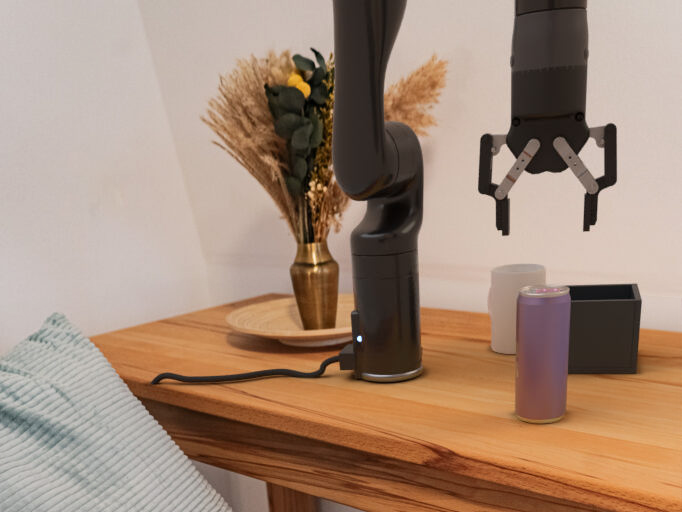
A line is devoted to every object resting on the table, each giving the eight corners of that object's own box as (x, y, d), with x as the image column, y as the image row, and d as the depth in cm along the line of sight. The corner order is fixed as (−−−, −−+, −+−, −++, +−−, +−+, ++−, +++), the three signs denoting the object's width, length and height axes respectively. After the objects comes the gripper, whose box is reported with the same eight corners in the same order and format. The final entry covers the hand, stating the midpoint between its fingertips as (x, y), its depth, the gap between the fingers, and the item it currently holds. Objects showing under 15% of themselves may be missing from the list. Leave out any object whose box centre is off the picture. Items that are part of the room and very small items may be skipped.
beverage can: (566, 424, 97) (572, 293, 91) (513, 424, 98) (515, 295, 92) (565, 408, 102) (570, 283, 96) (515, 408, 104) (517, 285, 97)
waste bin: (547, 373, 116) (550, 302, 112) (550, 351, 126) (553, 285, 122) (636, 373, 113) (641, 300, 109) (632, 351, 123) (637, 283, 119)
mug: (513, 334, 138) (514, 258, 133) (555, 348, 128) (558, 267, 122) (469, 341, 135) (468, 265, 130) (508, 357, 125) (509, 275, 120)
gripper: (621, 59, 86) (612, 225, 93) (481, 73, 90) (483, 231, 97) (624, 56, 80) (614, 234, 86) (473, 71, 83) (475, 241, 90)
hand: (545, 232), depth 91 cm, fingers open, 8 cm apart
